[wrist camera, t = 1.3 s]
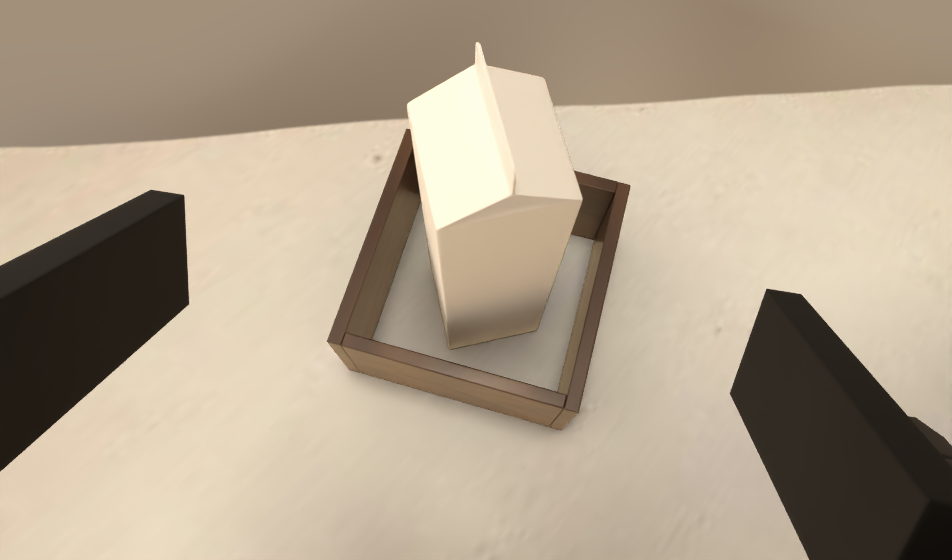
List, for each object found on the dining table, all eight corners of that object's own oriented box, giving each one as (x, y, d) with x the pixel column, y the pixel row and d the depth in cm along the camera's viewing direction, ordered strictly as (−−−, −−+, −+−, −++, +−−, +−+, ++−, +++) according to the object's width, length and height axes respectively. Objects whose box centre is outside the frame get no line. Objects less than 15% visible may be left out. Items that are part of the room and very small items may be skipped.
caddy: (608, 232, 46) (631, 184, 39) (561, 430, 41) (578, 413, 35) (415, 182, 47) (406, 128, 41) (348, 369, 43) (326, 341, 36)
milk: (515, 249, 46) (556, 20, 25) (537, 332, 44) (603, 156, 23) (428, 267, 45) (398, 49, 24) (447, 352, 43) (431, 191, 22)
